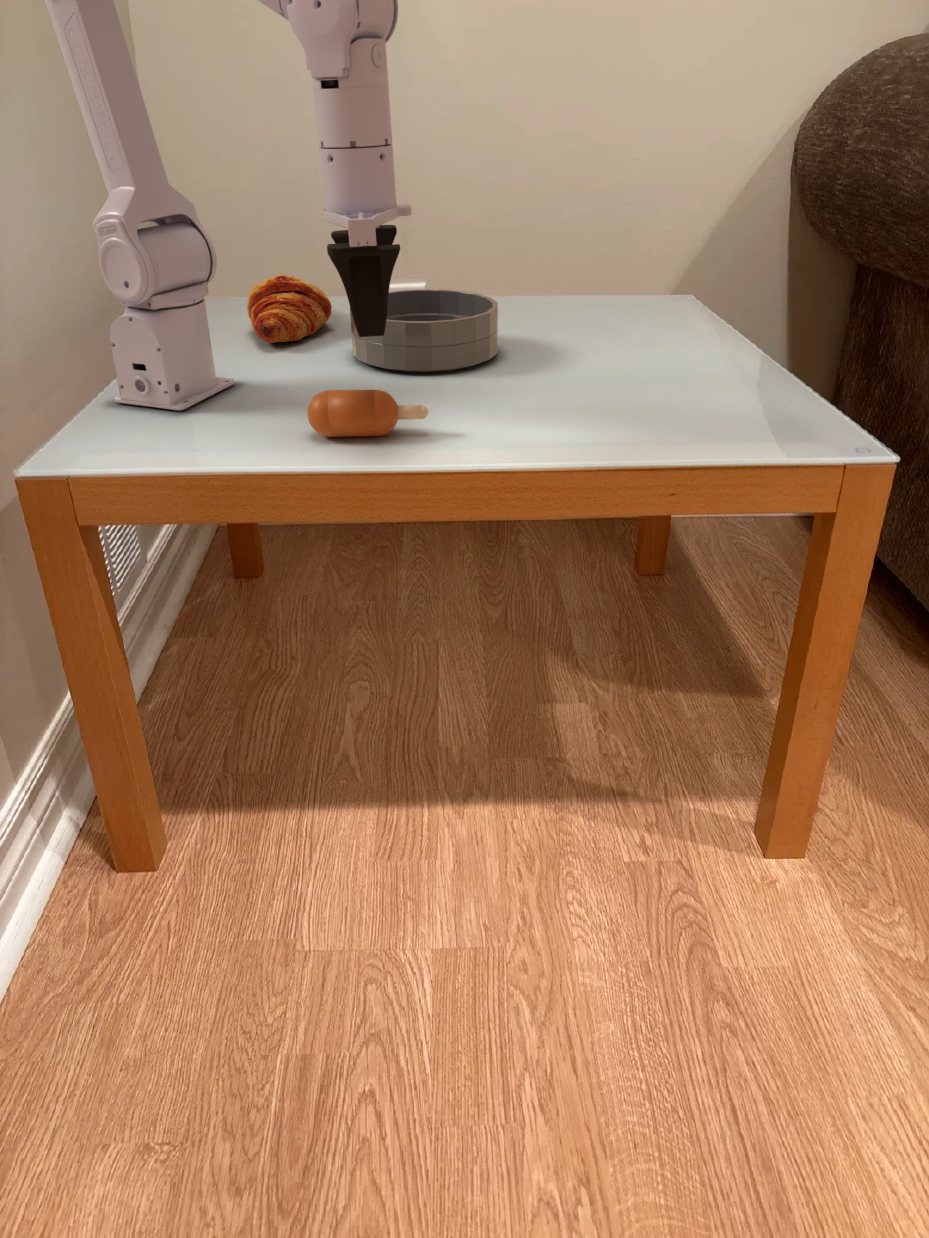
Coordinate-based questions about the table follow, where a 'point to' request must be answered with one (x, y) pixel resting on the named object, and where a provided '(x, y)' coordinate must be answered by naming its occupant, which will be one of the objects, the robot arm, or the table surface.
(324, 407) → the corn dog
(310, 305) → the croissant
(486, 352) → the bowl
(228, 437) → the table surface
